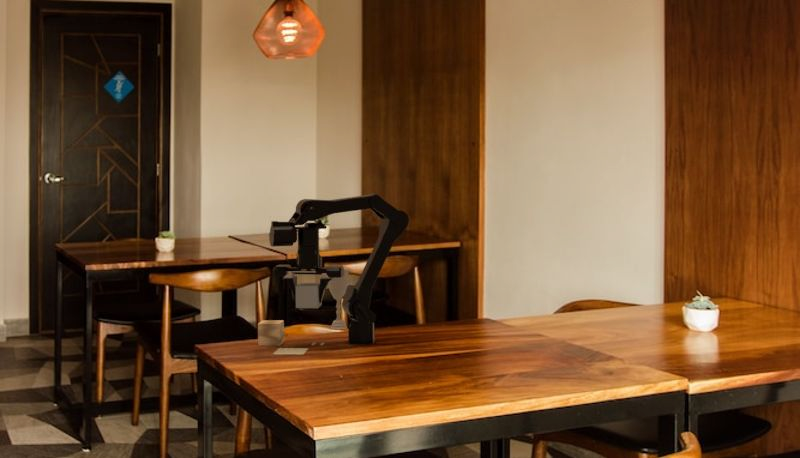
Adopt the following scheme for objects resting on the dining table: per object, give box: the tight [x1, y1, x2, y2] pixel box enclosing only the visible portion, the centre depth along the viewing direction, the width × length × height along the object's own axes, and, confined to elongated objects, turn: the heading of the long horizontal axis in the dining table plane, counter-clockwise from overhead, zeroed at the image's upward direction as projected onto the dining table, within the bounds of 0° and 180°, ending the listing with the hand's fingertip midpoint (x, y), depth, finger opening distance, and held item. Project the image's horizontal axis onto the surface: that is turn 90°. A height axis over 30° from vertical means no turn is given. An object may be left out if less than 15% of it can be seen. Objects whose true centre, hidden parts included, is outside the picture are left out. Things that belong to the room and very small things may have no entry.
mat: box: [272, 347, 309, 356], centre depth 267 cm, size 8×8×1 cm
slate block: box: [295, 282, 323, 309], centre depth 274 cm, size 6×6×6 cm
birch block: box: [257, 319, 285, 347], centre depth 279 cm, size 6×6×6 cm
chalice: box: [327, 267, 351, 330], centre depth 304 cm, size 7×7×18 cm
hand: (308, 302), depth 274 cm, fingers closed on slate block, 6 cm apart
